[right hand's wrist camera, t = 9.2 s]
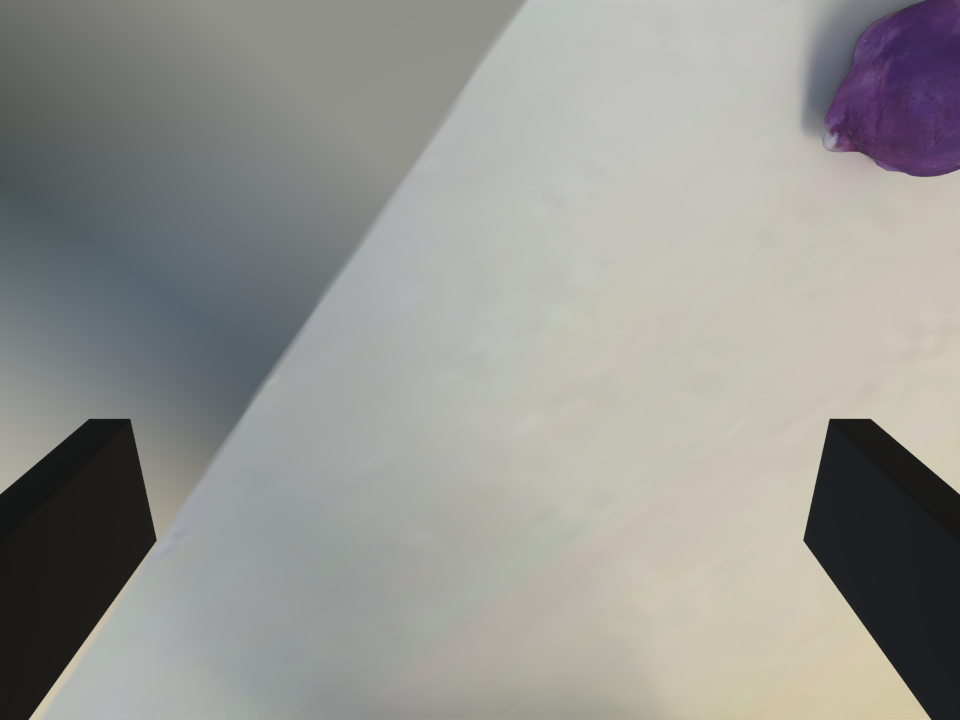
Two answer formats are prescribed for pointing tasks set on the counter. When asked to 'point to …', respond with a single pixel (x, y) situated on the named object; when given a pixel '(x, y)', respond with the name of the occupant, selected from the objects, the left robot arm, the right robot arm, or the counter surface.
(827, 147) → the figurine
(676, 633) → the counter surface
